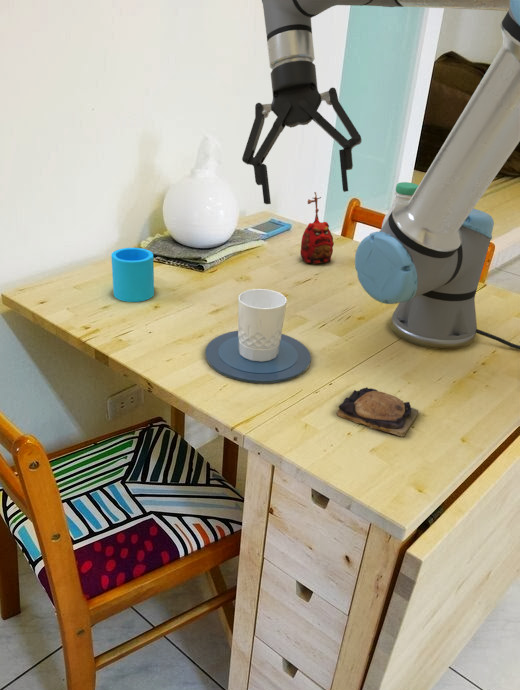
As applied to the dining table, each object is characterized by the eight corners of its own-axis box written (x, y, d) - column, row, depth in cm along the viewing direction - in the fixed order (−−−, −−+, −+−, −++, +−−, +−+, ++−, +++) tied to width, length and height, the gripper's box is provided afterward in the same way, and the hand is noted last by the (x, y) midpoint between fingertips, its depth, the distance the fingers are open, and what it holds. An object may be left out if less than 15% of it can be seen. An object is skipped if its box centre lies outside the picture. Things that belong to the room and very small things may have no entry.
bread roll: (420, 413, 98) (425, 393, 96) (402, 440, 92) (407, 419, 90) (354, 391, 102) (358, 371, 100) (332, 415, 96) (336, 394, 94)
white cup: (233, 361, 108) (236, 306, 102) (237, 339, 114) (240, 286, 109) (280, 365, 107) (286, 310, 102) (282, 343, 114) (287, 290, 108)
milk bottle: (401, 285, 140) (420, 191, 129) (368, 277, 143) (383, 185, 132) (413, 274, 145) (432, 183, 134) (380, 267, 148) (396, 177, 138)
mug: (158, 299, 129) (158, 260, 125) (118, 304, 127) (116, 264, 122) (143, 277, 138) (142, 239, 134) (105, 281, 136) (103, 243, 132)
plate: (325, 348, 114) (325, 344, 114) (285, 395, 101) (286, 391, 100) (234, 324, 121) (234, 320, 121) (185, 365, 107) (185, 361, 107)
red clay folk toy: (308, 267, 147) (316, 200, 139) (293, 257, 152) (299, 192, 144) (336, 263, 149) (346, 197, 141) (320, 253, 155) (328, 189, 147)
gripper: (369, 56, 109) (380, 187, 112) (226, 87, 115) (240, 210, 119) (367, 42, 102) (379, 182, 105) (215, 76, 108) (231, 206, 112)
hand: (305, 197), depth 112 cm, fingers open, 13 cm apart
